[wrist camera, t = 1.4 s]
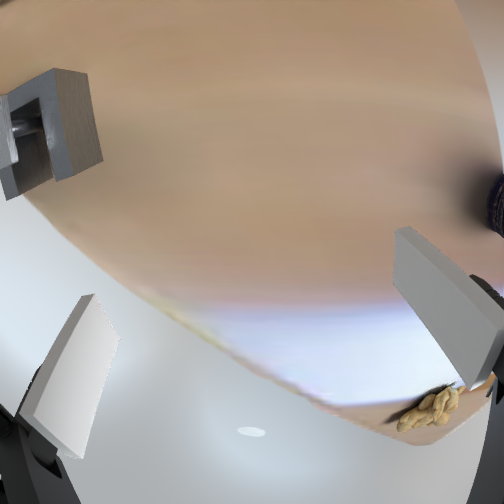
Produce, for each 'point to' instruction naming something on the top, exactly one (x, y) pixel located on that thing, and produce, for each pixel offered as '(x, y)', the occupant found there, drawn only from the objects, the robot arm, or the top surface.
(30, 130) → the post stand
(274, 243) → the top surface
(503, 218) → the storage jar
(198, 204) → the top surface
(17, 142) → the c link
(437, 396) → the ginger root
